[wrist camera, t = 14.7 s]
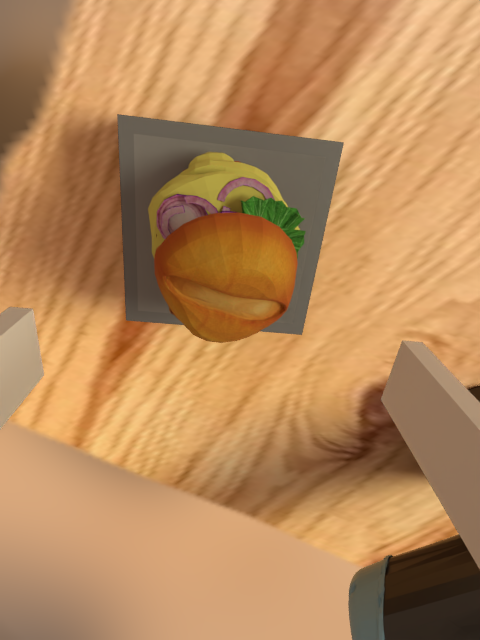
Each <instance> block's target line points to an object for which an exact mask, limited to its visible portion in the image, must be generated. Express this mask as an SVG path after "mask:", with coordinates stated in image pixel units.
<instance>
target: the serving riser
mask: <svg viewBox="0 0 480 640" xmlns="http://www.w3.org/2000/svg"><path fill="white" fill-rule="evenodd" d="M117 116H118V139H119V163H120V187H121V210H122V234H123V258H124V281H125V305H126V320H129V321H141V322H153V323H165V324H177V325H184V324H183V323H182V322H181V321H180V320H179V319H178V318H176V316H175V315H173V314H171V313H170V311H169V306H168V304H167V302H166V301H165V299H164V297H163V295H162V293H161V291H160V289H159V286H158V283H157V279H156V276H155V269H154V257H153V254H152V235H151V227H150V220H149V212H148V207H149V205H150V203H151V200H152V198H153V197H154V196H155V194H156V193H157V192H158V191H159V190H160V189H161V188H162V187H163V186H164V185H165V184H166V183H167V182H169V181H170V180H172V179H173V178H175V177H176V176H178V175H179V174H180V173H181V172H182V171H183V170H186V169H188V166H189V164H190V162H191V161H192V160H193V159H194V158H195V157H197V156H199V155H202V154H205V153H207V152H219V153H225V154H227V155H228V156H230V157H231V158H232V159H233V160H234V161H239V162H241V163H245V164H248V165H251V166H254V167H256V168H258V169H260V170H261V171H263V172H265V173H266V174H268V176H269V177H270V178H271V180H272V181H273V182H274V184H275V185H276V186H277V188H278V190H279V192H280V194H281V196H282V198H283V200H284V201H285V202H286V204H287V206H288V207H291V208H297V210H298V212H299V214H300V216H301V218H305V219H304V220H303V221H302V222H301V223H300V224H299V225H298V227H299V228H300V230H302V231H306V232H305V235H304V244H303V246H302V247H301V248H300V250H299V251H298V259H297V263H298V264H297V271H296V278H295V286H294V290H293V294H292V298H291V301H290V304H289V306H288V308H287V311H286V312H285V313H284V314H283V315H282V316H281V317H280V318H279V319H278V320H277V321H275V322H274V323H272V324H271V325H269V326H268V327H266V328H264V329H263V330H261V331H263V332H275V333H287V334H299V335H302V332H303V328H304V323H305V318H306V314H307V309H308V305H309V300H310V295H311V291H312V286H313V282H314V277H315V272H316V268H317V263H318V259H319V254H320V249H321V245H322V240H323V236H324V231H325V226H326V222H327V217H328V212H329V208H330V203H331V199H332V194H333V189H334V185H335V180H336V176H337V171H338V166H339V162H340V157H341V153H342V148H343V142H335V141H327V140H319V139H311V138H303V137H295V136H287V135H279V134H271V133H263V132H255V131H247V130H239V129H231V128H223V127H215V126H207V125H199V124H191V123H183V122H175V121H167V120H159V119H151V118H143V117H135V116H127V115H119V114H117Z"/></svg>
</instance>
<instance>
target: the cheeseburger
mask: <svg viewBox="0 0 480 640" xmlns="http://www.w3.org/2000/svg"><path fill="white" fill-rule="evenodd" d="M148 212H149V220H150V227H151V235H152V254H153V257H154V269H155V276H156V279H157V283H158V286H159V289H160V291H161V293H162V295H163V297H164V299H165V301H166V302H167V304H168V306H169V311H170V313H171V314H173V315H175V316H176V318H178V319H179V320H180V321H181V322H182V323H183V324H184V325H185V326H186V327H187V328H188V329H189V330H190V331H191V333H192V334H193V335H195V336H197V337H199V338H201V339H204V340H206V341H212V342H219V343H223V342H231V341H237V340H240V339H243V338H246V337H249V336H251V335H253V334H255V333H257V332H259V331H261V330H263V329H264V328H266V327H268V326H269V325H271V324H272V323H274V322H275V321H277V320H278V319H279V318H280V317H281V316H282V315H283V314H284V313H285V312H286V311H287V308H288V306H289V304H290V301H291V298H292V294H293V290H294V286H295V278H296V271H297V264H298V263H297V259H298V251H299V250H300V248H301V247H302V246H303V244H304V235H305V232H306V231H302V230H300V228H299V227H298V225H299V224H300V223H301V222H302V221H303V220H304V219H305V218H301V216H300V214H299V212H298V210H297V208H291V207H288V206H287V204H286V202H285V201H284V200H283V198H282V196H281V194H280V192H279V190H278V188H277V186H276V185H275V184H274V182H273V181H272V180H271V178H270V177H269V176H268V174H266V173H265V172H263V171H261V170H260V169H258V168H256V167H254V166H251V165H248V164H245V163H241V162H239V161H234V160H233V159H232V158H231V157H230V156H228V155H227V154H225V153H219V152H207V153H205V154H202V155H199V156H197V157H195V158H194V159H193V160H192V161H191V162H190V164H189V166H188V169H186V170H183V171H182V172H181V173H180V174H179V175H178V176H176V177H175V178H173V179H172V180H170V181H169V182H167V183H166V184H165V185H164V186H163V187H162V188H161V189H160V190H159V191H158V192H157V193H156V194H155V196H154V197H153V198H152V200H151V203H150V205H149V207H148Z"/></svg>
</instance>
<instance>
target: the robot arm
mask: <svg viewBox="0 0 480 640" xmlns="http://www.w3.org/2000/svg"><path fill="white" fill-rule="evenodd" d="M43 376H44V371H43V365H42V359H41V353H40V347H39V342H38V336H37V330H36V324H35V318H34V312H33V309H29V308H18V307H9V308H7V309H6V310H5V311H3V312H2V313H1V314H0V429H1V428H2V427H3V425H4V424H5V423H6V422H7V421H8V419H9V418H10V417H11V416H12V414H13V413H14V412H15V411H16V409H17V408H18V407H19V406H20V404H21V403H22V402H23V401H24V399H25V398H26V397H27V396H28V394H29V393H30V392H31V391H32V389H33V388H34V387H35V386H36V384H37V383H38V382H39V381H40V379H41V378H42V377H43ZM381 401H382V403H383V404H384V406H385V408H386V409H387V411H388V413H389V415H390V416H391V418H392V420H393V421H394V423H395V425H396V427H397V428H398V430H399V432H400V433H401V435H402V437H403V439H404V440H405V442H406V444H407V446H408V447H409V449H410V451H411V452H412V454H413V456H414V458H415V459H416V461H417V463H418V464H419V466H420V468H421V470H422V471H423V473H424V475H425V476H426V478H427V480H428V482H429V483H430V485H431V487H432V488H433V490H434V492H435V494H436V495H437V497H438V499H439V500H440V502H441V504H442V506H443V507H444V509H445V511H446V513H447V514H448V516H449V518H450V519H451V521H452V523H453V525H454V526H455V528H456V530H457V531H458V533H459V534H458V535H455V536H453V537H450V538H447V539H444V540H441V541H438V542H436V543H433V544H430V545H427V546H424V547H421V548H418V549H415V550H412V551H409V552H405V553H402V554H399V555H396V556H392V555H388V556H386V557H385V558H384V560H381V561H379V562H377V563H374V564H372V565H369V566H367V567H364V568H362V569H360V570H359V571H358V572H356V574H355V575H354V576H353V579H352V581H351V584H350V589H349V619H350V627H351V635H352V640H480V387H477V388H473V389H470V390H467V389H466V388H465V386H464V385H463V384H462V383H461V382H460V381H459V380H458V379H457V378H456V377H455V376H454V375H453V374H452V373H451V372H450V371H449V370H448V369H447V368H446V367H445V366H444V364H443V363H442V362H441V361H440V360H439V359H438V358H437V357H436V356H435V355H434V354H433V353H432V352H431V351H430V350H429V349H428V348H427V347H426V346H425V345H424V344H423V343H422V342H413V341H402V343H401V345H400V348H399V351H398V354H397V356H396V359H395V362H394V365H393V368H392V370H391V373H390V376H389V379H388V381H387V384H386V387H385V390H384V392H383V395H382V398H381Z"/></svg>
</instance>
